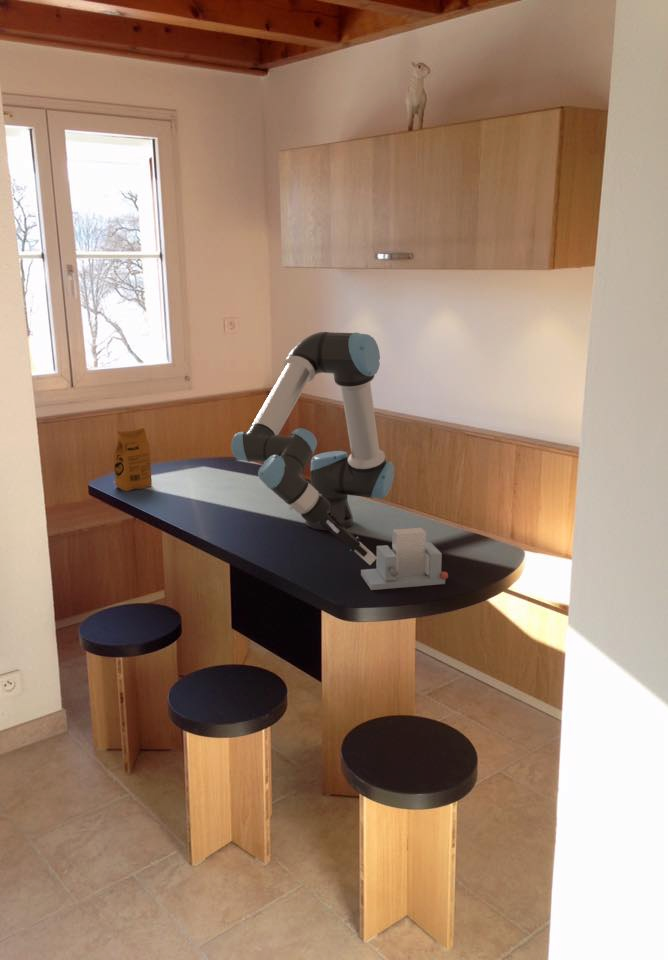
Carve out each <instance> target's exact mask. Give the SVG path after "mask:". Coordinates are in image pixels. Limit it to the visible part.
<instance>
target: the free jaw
mask: <svg viewBox="0 0 668 960" xmlns="http://www.w3.org/2000/svg"><path fill="white" fill-rule="evenodd" d="M375 556H376V557H377V559H376V560H375V562H376V563H375V564H376V565H375V566H376V568H375V569H377V570H378V572H379V573H380V574H381V576H382V577H383V579H384V580H385V581H390V580H396V577H397V576H398V558H397V556H396V555H395V554H394V552H393V551H392V548H390V546H389V545H388V544H387V545H386V544H385V545H376V555H375Z"/></svg>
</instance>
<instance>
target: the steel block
mask: <svg viewBox="0 0 668 960" xmlns="http://www.w3.org/2000/svg"><path fill="white" fill-rule="evenodd" d="M391 536H392V537H391V543H392V544H391V550H392V551H393V552H394V554H395V555H396V556H397V558H398V576H397V577H396V578H400V577H413V576H425V557H426V542H427V532H426V530H424V529H423V527H415V528H414V527H412V528H397V529H392V535H391Z"/></svg>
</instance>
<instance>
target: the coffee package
mask: <svg viewBox="0 0 668 960" xmlns="http://www.w3.org/2000/svg"><path fill="white" fill-rule="evenodd" d="M117 435H118V438H117V444H116V447H115V451H114V459H113V461H114V463H113V464H114V467H113V468H114V469H113V470H114V483H115V485H116V488H118V489H120V490H122V491H124V492H129V491H130V492H131V491H132V490H142V489H146V488H148V487H152V486H153V484H152V483H153V482H152V480H153V479H152V465H151V463H152V462H151V461H152V460H151V450H150V445H149V440H148V438H147V432H146V430H145V427H144V426H141V427H139V428H136V429H133V430H117Z"/></svg>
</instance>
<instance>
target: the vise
mask: <svg viewBox="0 0 668 960" xmlns="http://www.w3.org/2000/svg"><path fill="white" fill-rule="evenodd" d="M442 556H443V554H442V552H441V551H440V550H439V549H438V548H437V547H436V546H435V545H434V544H433V543H432V542H431V541H430V540H429V541H426V557H425V576H413V577H400V578H396V580H390V581H385V580H384V579H383V577H382V576H381V574H380V573H379V572H378V570H377V569H376V568H366V569H360V576H361V577H362V579H363V580H364V582H365V583H366V584H367V586H368V587H369V589H370V590H371V591H375V590H377V591H378V590H388V589H389V590H390V589H400V588H412V587H413V588H414V587H423V586H426V587H427V586H434V585H435V586H436V585H437V586H438V585H446V580H447V579H448V578H449V574H448V572H447V571H442V558H443V557H442Z"/></svg>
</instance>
